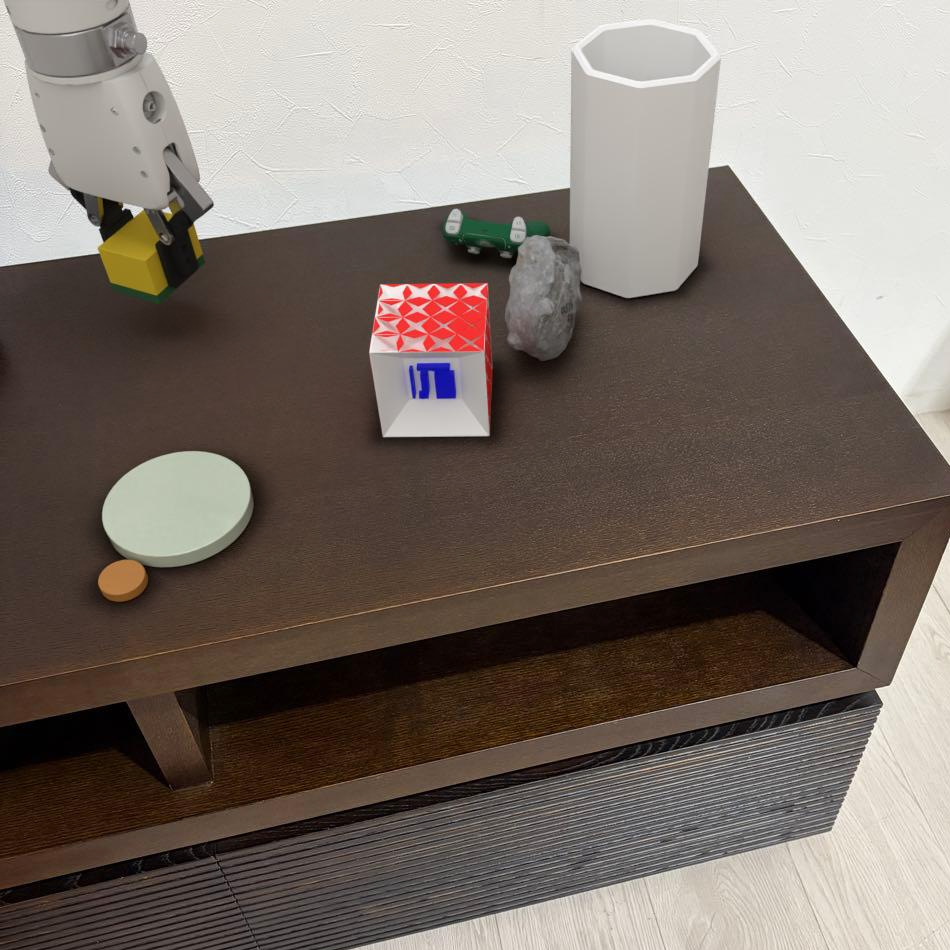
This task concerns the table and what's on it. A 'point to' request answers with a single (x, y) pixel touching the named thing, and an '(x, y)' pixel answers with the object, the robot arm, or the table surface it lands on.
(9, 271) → the table surface
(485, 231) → the gaming controller
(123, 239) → the sponge
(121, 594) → the orange flat disc
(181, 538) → the plate
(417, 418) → the puzzle cube
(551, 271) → the stone
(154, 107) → the robot arm
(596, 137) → the cup
